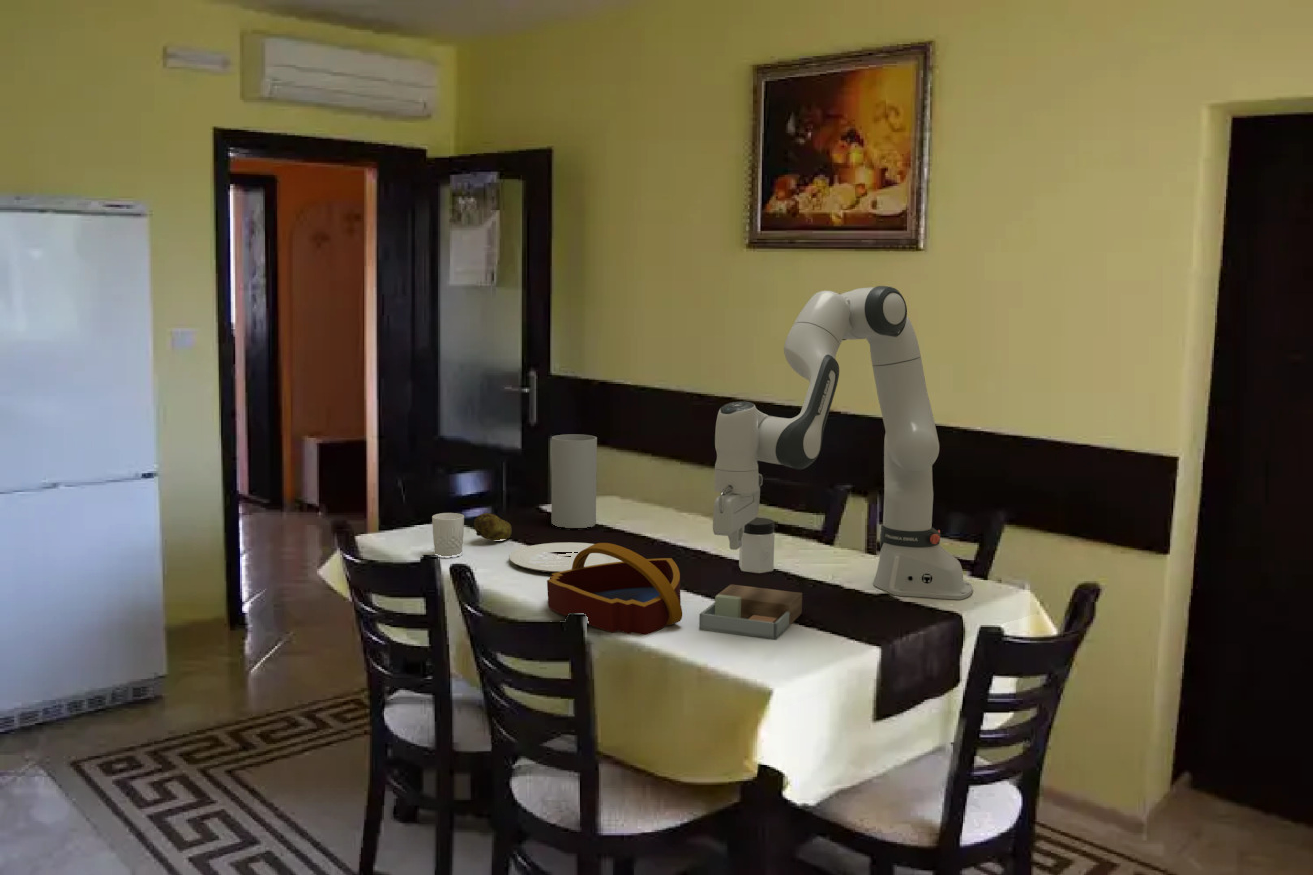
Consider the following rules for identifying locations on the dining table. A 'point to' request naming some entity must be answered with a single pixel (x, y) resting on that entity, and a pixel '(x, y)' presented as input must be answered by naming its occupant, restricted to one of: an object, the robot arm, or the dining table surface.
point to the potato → (492, 527)
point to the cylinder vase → (574, 480)
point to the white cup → (448, 533)
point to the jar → (757, 546)
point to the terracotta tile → (763, 618)
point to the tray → (742, 625)
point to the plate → (523, 555)
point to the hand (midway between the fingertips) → (735, 548)
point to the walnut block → (766, 602)
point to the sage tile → (728, 606)
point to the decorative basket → (619, 591)
